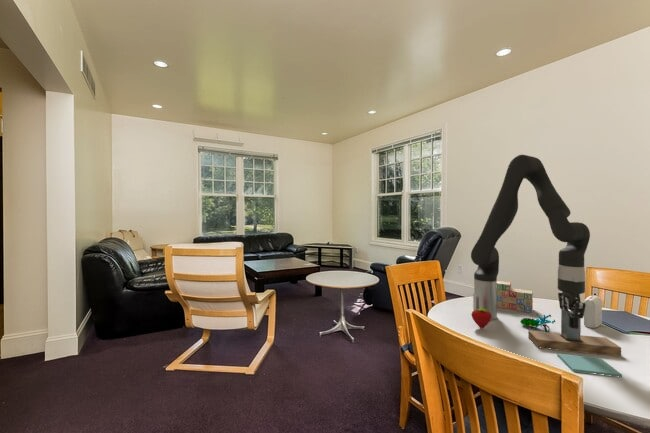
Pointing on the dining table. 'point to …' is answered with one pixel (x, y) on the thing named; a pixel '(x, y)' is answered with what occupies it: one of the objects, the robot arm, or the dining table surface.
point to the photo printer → (593, 312)
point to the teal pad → (588, 365)
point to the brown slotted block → (575, 343)
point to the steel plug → (566, 330)
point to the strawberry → (481, 317)
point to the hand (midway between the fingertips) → (570, 325)
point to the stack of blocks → (514, 297)
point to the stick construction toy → (537, 322)
